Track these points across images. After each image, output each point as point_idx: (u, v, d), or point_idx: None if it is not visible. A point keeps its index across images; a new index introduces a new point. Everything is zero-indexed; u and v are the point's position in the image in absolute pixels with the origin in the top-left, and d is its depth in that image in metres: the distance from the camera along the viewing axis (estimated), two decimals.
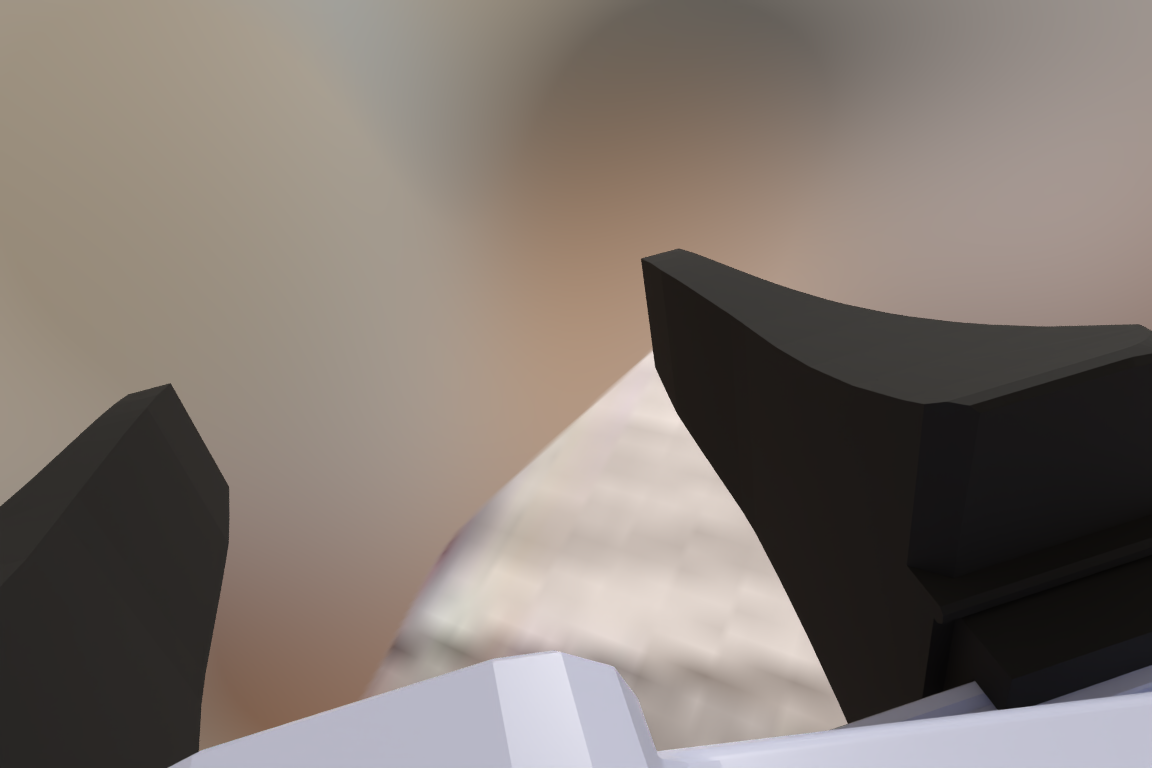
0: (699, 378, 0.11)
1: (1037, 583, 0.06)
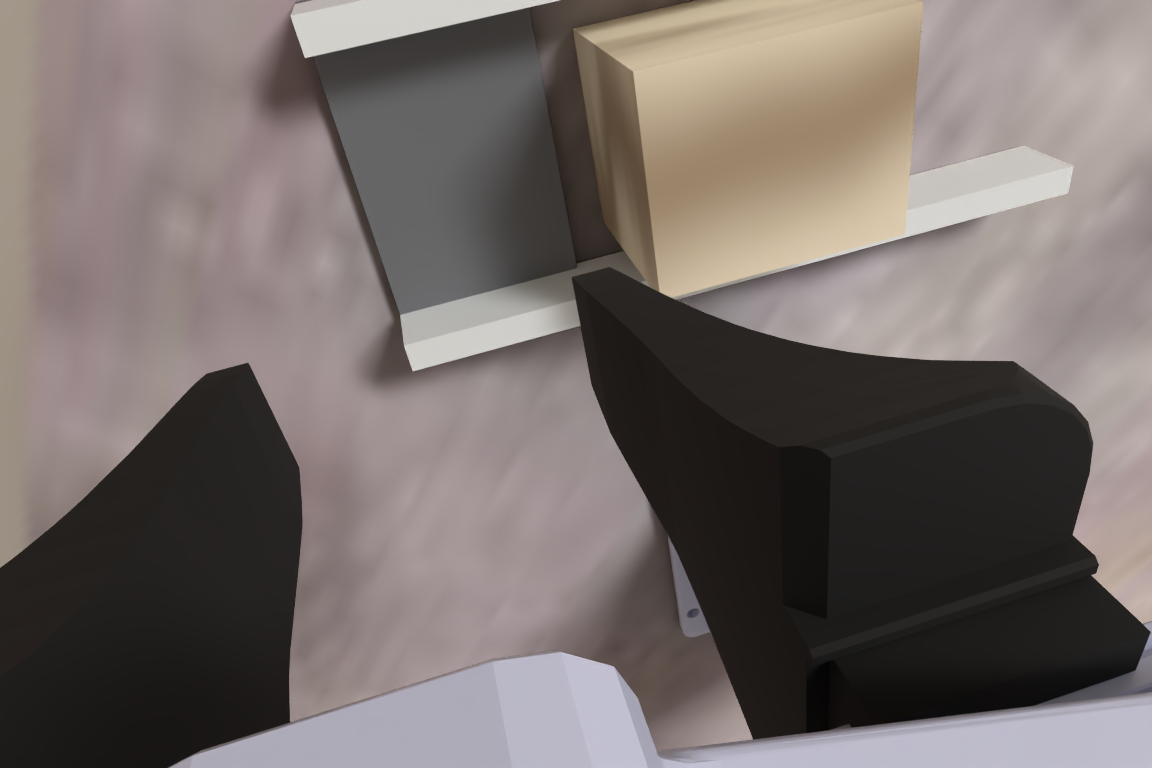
0: (623, 400, 0.11)
1: (911, 626, 0.06)
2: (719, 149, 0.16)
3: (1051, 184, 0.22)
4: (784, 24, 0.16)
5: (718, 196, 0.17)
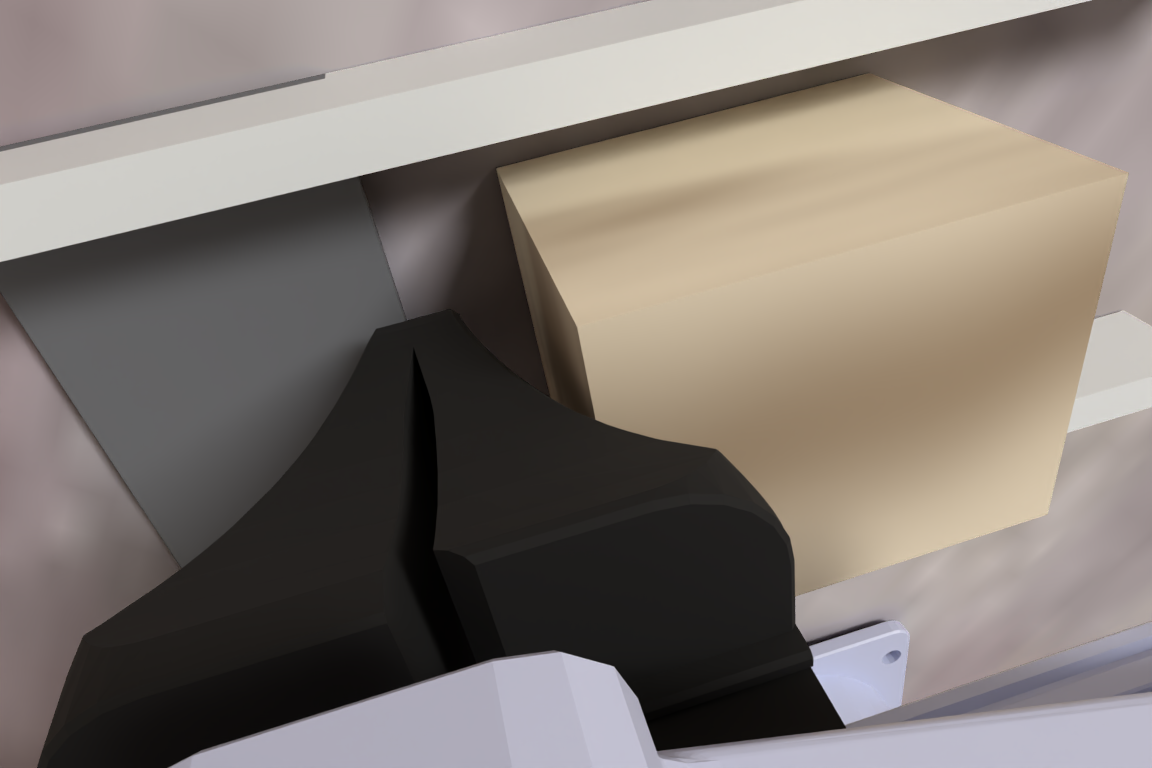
0: None
1: None
2: (743, 433, 0.09)
3: None
4: (862, 209, 0.09)
5: None
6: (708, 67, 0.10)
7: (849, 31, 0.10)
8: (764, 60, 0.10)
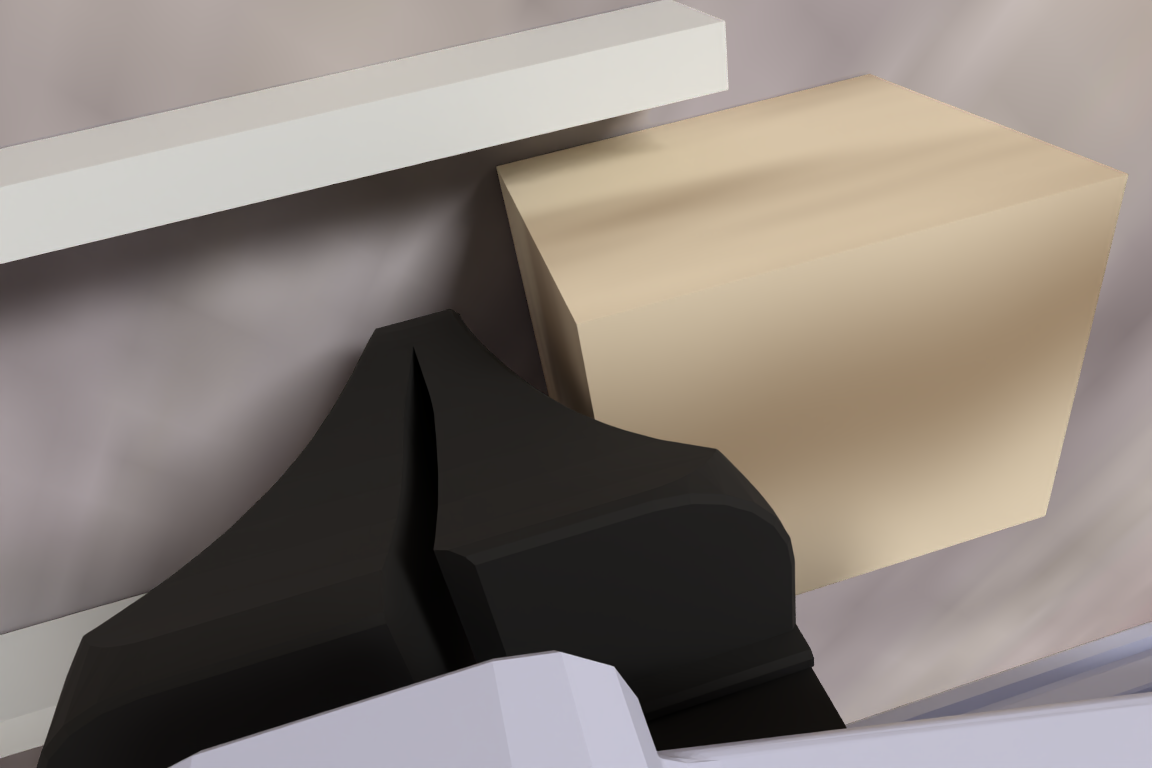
0: None
1: None
2: (742, 432, 0.09)
3: None
4: (863, 209, 0.09)
5: None
6: None
7: (91, 212, 0.09)
8: None
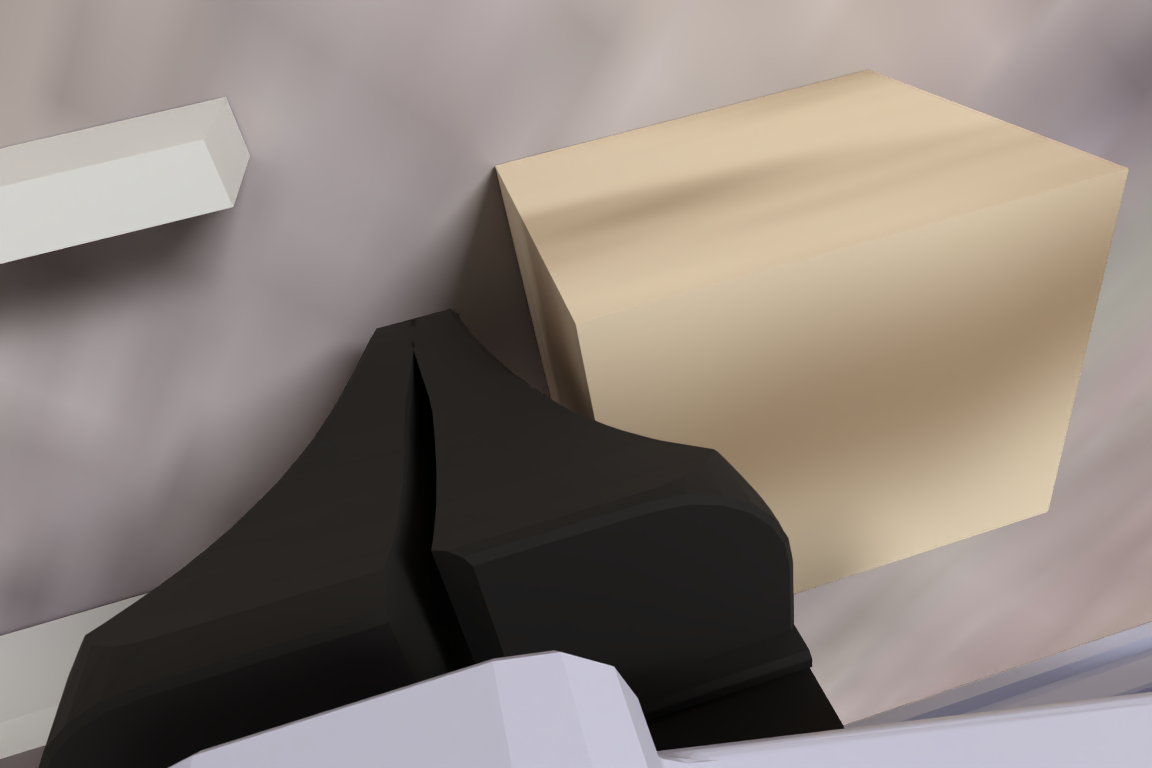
0: None
1: None
2: (742, 429, 0.09)
3: None
4: (862, 205, 0.09)
5: None
6: None
7: None
8: None
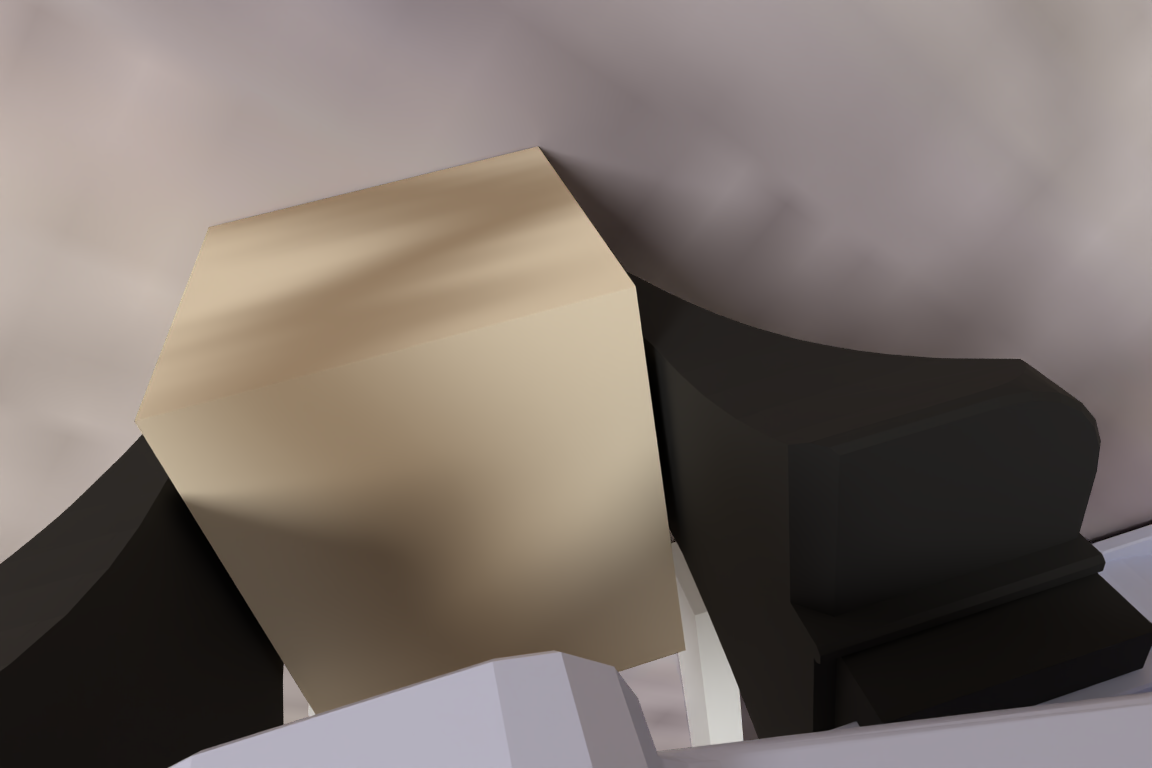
0: None
1: (918, 624, 0.06)
2: (449, 645, 0.10)
3: None
4: None
5: (525, 627, 0.10)
6: None
7: None
8: None
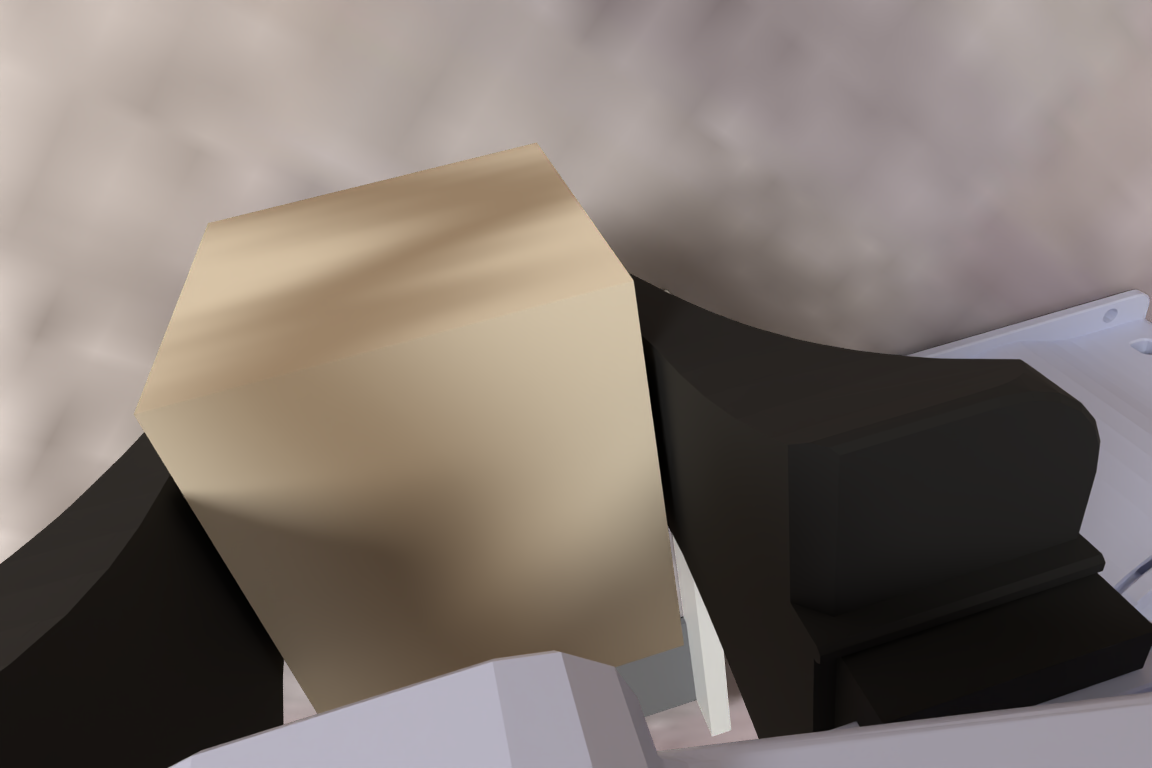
0: None
1: (917, 623, 0.06)
2: (447, 640, 0.10)
3: None
4: None
5: (524, 621, 0.10)
6: None
7: None
8: None
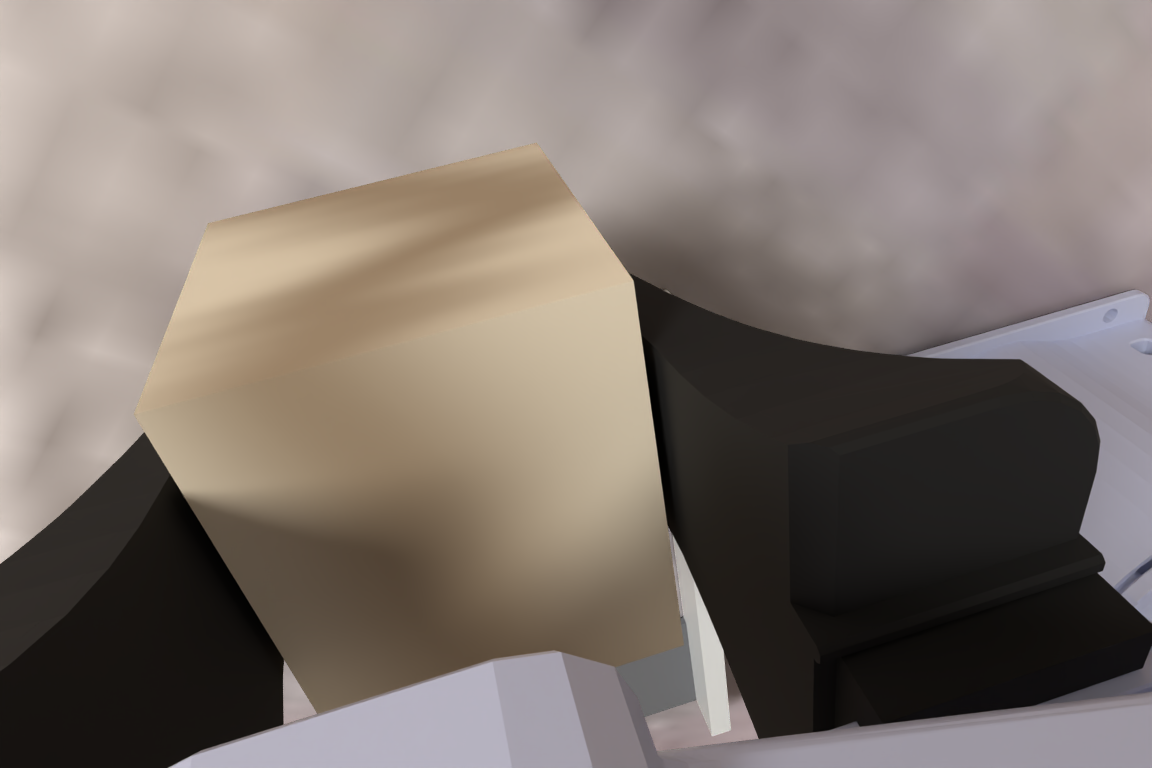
0: None
1: (918, 623, 0.06)
2: (448, 641, 0.10)
3: None
4: None
5: (524, 621, 0.10)
6: None
7: None
8: None
